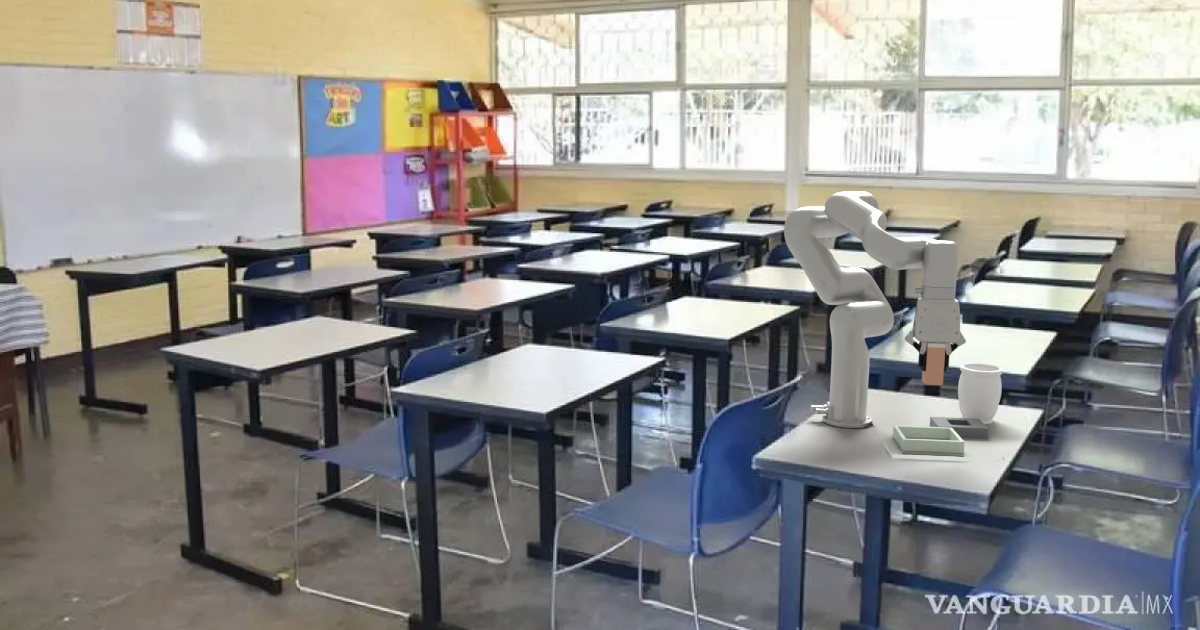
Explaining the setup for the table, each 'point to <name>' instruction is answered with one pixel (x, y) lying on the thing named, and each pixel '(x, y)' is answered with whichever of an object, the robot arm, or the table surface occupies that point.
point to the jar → (979, 391)
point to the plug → (934, 364)
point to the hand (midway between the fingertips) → (933, 369)
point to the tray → (949, 445)
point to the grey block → (962, 426)
